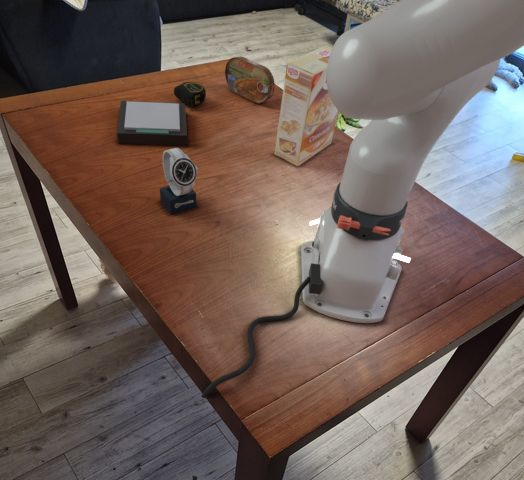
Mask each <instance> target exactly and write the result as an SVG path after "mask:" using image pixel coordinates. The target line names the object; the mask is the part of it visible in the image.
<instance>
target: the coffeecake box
mask: <svg viewBox="0 0 524 480" xmlns="http://www.w3.org/2000/svg"><path fill="white" fill-rule="evenodd" d="M332 48H333V46H329V45H327V44H325V45H324V46H321V47H319V48H316V49H314V50H312V51H310V52H307V53H305V54H303V55H301V56H298V57H297V58H294V59H293V60H292V59H291V60H289V61H288V62H286V67H285V68H286V69H285V76H284V82H283V89H282V96H281V102H280V103H281V104H280V110H279V111H280V112H279V118H278V125H277V132H276V140H275V146H274V153H273V154H274V156H277V157H279V158H281V159H283V160H284V161H286V162H288V163H290V164H292V165H294V166H296V167H300V166H301V165H302V164H304V163H305V162H306V161H308V160H309V159H311V158H312V157H314V156H315V155H316V154H318V153H319V152H321V151H322V150H324V149H326V148H327V147H328V146H329V145H332V141H333V136H334V133H335V130H336V129H335V127H336V126H337V125H336V124H337V120H338V116H339V113H340V112H339V111H338V110H337V109H336V107H335V106H334V104H333V102H332V100H331V98H330V95H329V92H328V88H327V81H326V71H327V64H328V60H329V56H330V53H331V51H332Z"/></svg>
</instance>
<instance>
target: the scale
mask: <svg viewBox="0 0 524 480" xmlns="http://www.w3.org/2000/svg"><path fill="white" fill-rule="evenodd" d="M117 123H118V124H117V132H116V135H117V142H118V144H119V145H122V144H123V145H124V144H125V145H150V146H151V145H155V146H181V147H182V146H183V147H184V146H186V147H187V146H188V129H187V111H186V104H185V103H184V102H164V101H163V102H161V101H140V100H120V105H119V113H118V122H117Z"/></svg>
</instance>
